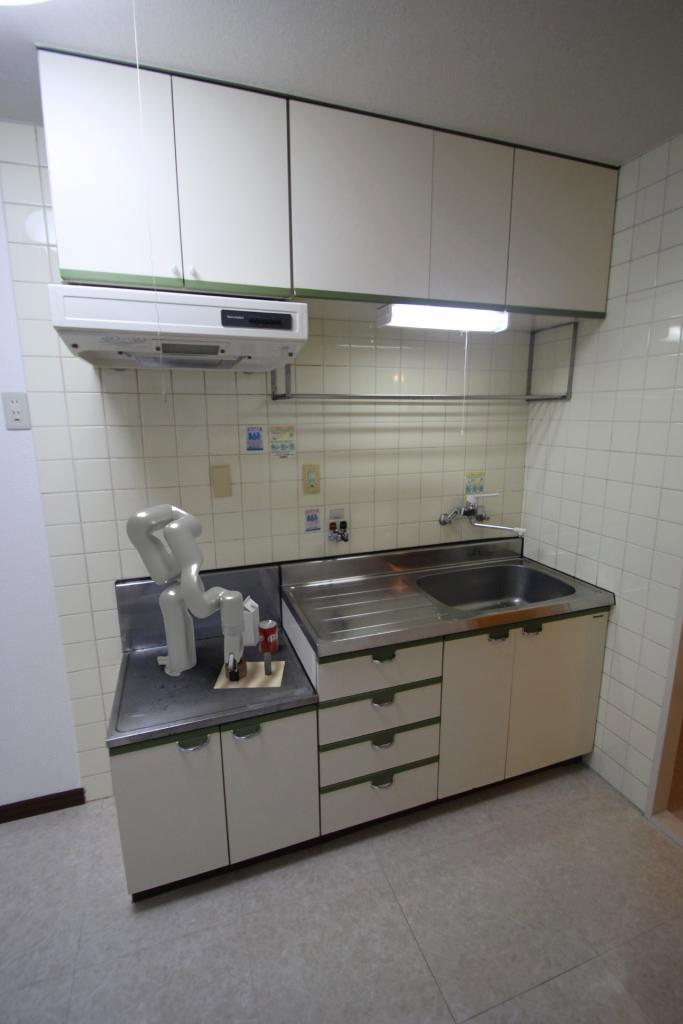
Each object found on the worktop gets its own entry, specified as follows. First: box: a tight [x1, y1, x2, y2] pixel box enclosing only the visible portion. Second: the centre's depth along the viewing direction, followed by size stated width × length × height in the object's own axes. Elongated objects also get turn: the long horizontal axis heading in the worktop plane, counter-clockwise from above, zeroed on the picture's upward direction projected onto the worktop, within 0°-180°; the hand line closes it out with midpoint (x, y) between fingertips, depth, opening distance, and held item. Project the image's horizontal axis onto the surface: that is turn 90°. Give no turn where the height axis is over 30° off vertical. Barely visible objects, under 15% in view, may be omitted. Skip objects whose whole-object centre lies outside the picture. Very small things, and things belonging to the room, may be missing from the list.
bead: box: [224, 656, 247, 680], centre depth 161 cm, size 7×7×5 cm
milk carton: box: [243, 595, 261, 647], centre depth 185 cm, size 7×7×19 cm
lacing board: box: [213, 652, 286, 690], centre depth 161 cm, size 22×16×9 cm
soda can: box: [258, 619, 279, 655], centre depth 178 cm, size 7×7×12 cm
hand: (236, 674), depth 162 cm, fingers closed on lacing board, 7 cm apart
